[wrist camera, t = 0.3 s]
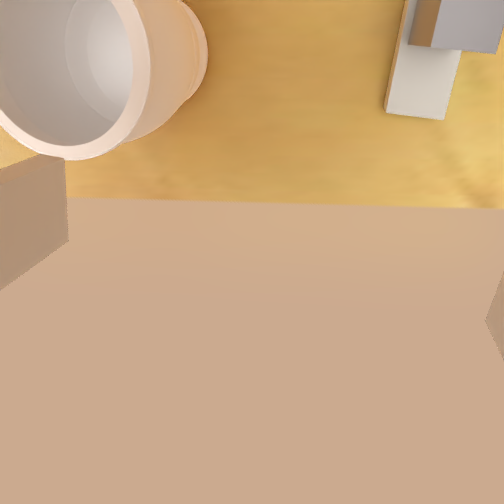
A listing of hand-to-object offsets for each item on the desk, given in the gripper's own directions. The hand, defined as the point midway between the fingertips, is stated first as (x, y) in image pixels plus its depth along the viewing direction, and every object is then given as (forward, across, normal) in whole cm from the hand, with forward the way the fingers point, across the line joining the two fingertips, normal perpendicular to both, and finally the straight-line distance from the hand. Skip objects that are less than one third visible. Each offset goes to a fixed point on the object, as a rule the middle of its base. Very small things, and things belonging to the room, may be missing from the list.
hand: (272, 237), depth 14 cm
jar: (+26, -13, +3) cm, 30 cm away
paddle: (+26, +6, +7) cm, 28 cm away
